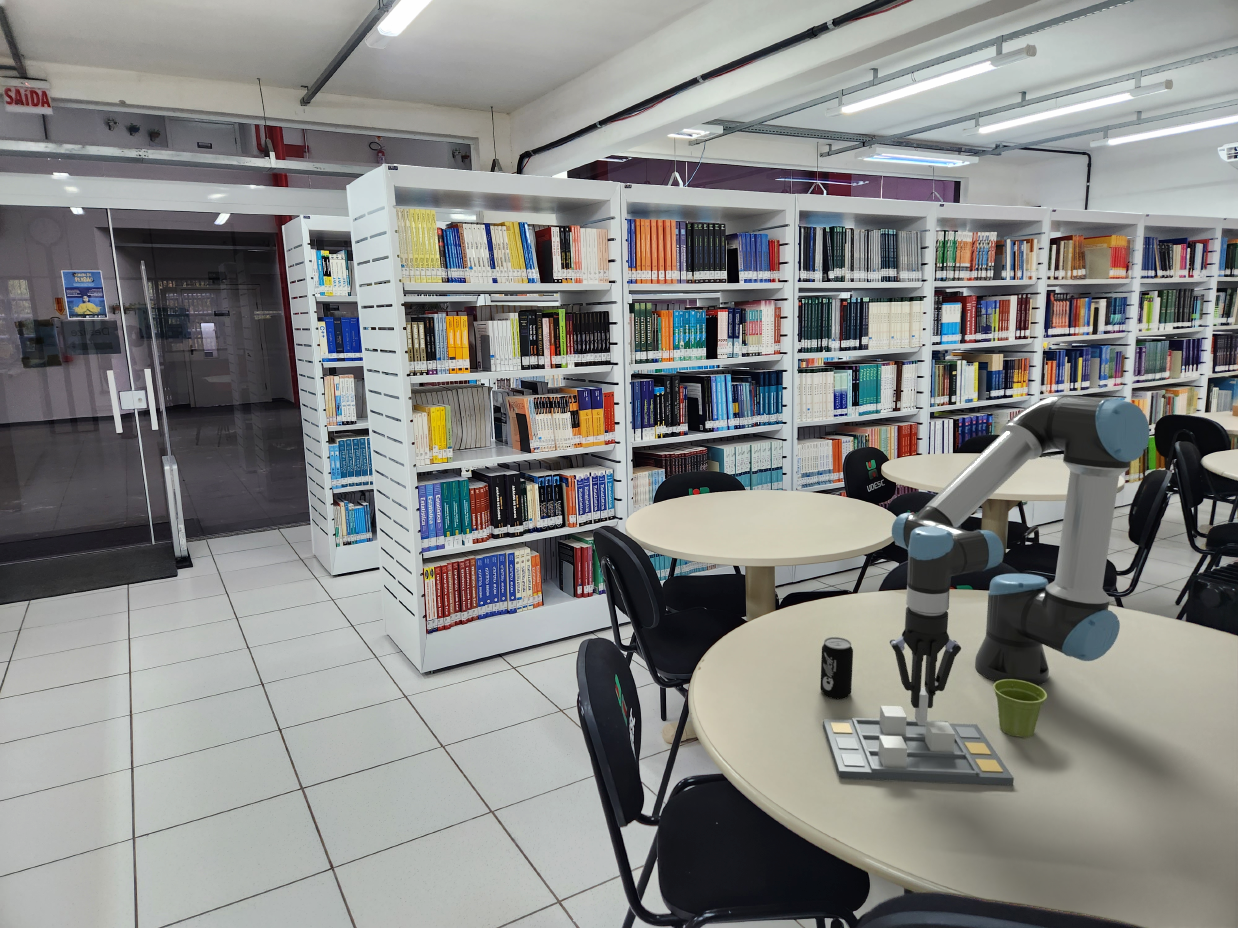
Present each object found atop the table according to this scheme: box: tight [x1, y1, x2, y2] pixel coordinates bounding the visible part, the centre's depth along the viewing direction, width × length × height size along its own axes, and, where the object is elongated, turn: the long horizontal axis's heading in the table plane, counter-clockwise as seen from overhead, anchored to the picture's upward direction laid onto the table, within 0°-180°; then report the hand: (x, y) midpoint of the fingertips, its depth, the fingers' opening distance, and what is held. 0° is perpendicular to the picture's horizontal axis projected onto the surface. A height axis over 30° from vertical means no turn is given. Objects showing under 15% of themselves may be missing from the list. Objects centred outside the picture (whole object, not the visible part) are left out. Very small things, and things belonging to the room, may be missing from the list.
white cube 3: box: [878, 736, 907, 768], centre depth 139 cm, size 4×4×4 cm
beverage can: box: [820, 636, 854, 700], centre depth 167 cm, size 7×7×12 cm
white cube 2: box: [925, 721, 955, 752], centre depth 144 cm, size 4×4×4 cm
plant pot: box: [992, 679, 1048, 739], centre depth 152 cm, size 9×9×9 cm
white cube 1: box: [879, 705, 908, 735], centre depth 150 cm, size 4×4×4 cm
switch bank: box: [822, 717, 1015, 787], centre depth 145 cm, size 30×18×2 cm, turn 84°
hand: (920, 721), depth 150 cm, fingers closed
